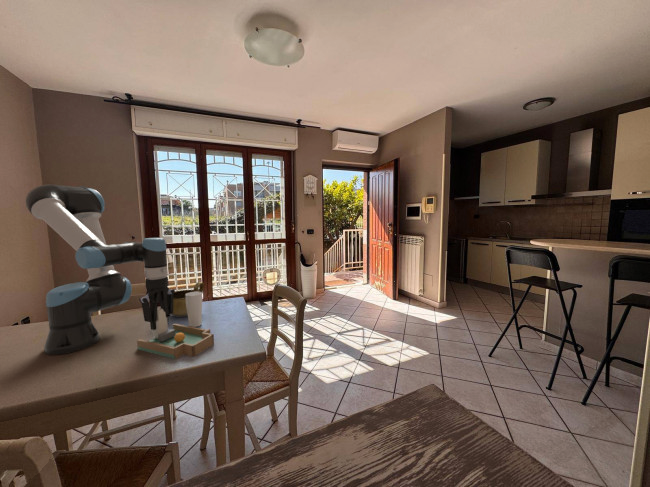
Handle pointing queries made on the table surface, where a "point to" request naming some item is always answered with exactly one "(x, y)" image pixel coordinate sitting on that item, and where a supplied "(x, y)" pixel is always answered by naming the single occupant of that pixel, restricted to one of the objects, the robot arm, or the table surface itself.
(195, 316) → the drinking glass
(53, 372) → the table surface
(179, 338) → the ball
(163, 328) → the striker
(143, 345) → the pitch
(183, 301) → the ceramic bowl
